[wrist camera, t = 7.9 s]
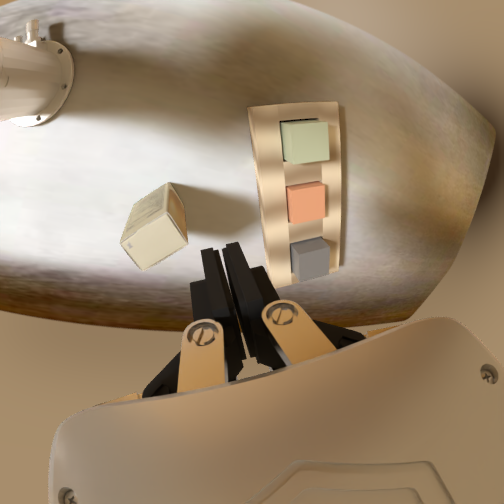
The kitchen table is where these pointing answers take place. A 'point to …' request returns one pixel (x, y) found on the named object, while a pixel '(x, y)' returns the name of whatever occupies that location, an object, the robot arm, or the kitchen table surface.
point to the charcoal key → (310, 258)
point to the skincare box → (155, 228)
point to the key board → (285, 174)
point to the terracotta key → (305, 202)
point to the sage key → (305, 141)
